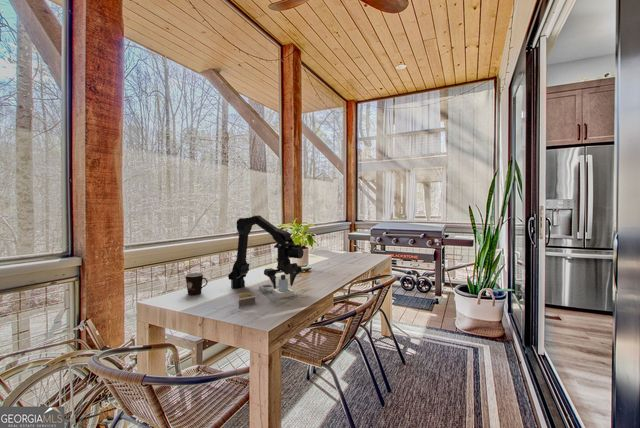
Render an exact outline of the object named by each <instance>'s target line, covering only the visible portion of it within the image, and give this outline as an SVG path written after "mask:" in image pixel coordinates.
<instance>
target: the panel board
mask: <svg viewBox="0 0 640 428" xmlns="http://www.w3.org/2000/svg"><path fill="white" fill-rule="evenodd" d="M278 288H279V285H276V289H278ZM255 291H256V292H257V293H259V294H260V295H262V296H264V297H265V298H266V299H267V300H269V301H270V302H276V301H282V300H288V299H292V298H298V296H299V295H297V294H295V293H294V296H289V297H284V298H278V297H277V296H275V295H274V294H273V292H269V293H262V292H261V291H259V288H258V289H255Z"/></svg>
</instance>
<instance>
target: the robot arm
mask: <svg viewBox="0 0 640 428" xmlns="http://www.w3.org/2000/svg"><path fill="white" fill-rule="evenodd" d="M255 225H257V226H258V227H259V228H261V229H263V231H265V232H267V233H268V234H269V235H270V236H271V237H272V239H273V240H274V241H275V242H276V244H275V245H273V248H274V249H277V258H276V261H277V265H276V269H275V268H272V267H271V268H269V267H268V268H265V269H264V270H263V275H265V276H266V277H268V278H269V280H270V283H271V285H273V287H274V289H276V286H277V284H276V283H277V282H276V281H277V279H276V278H277V276H276V275H277V274H279V273H280V274H282V273H284V275H285V276H286V275H287V276H288V275H289V283H290V287H293V284H294V282H295V279H296V278H297V275H299V274H300V273H302V271H303V268H302V266H300V265H298V263H296V262H293V263H292V262H291V259H290V258H293V259H302V258H303V257H304V248H303V247H302V244H296V243H295V242H294V240H293V238H292V237H291V234H290V232H289V231H288V230H287V231H286V230H284V229H281V228H278V227H277V226H275V225H274V224H272V223H271V222H269V221H268V220H267V219H266V218H264V217H262V215H259V214H258V215H253V216H250V217H241V218H238V219H237V220H236V231H237V232H238V240H237V241H238V242H237V252H236V254H237V255H236V259H235V262H234V263H233V266H232V269H231V272H229V274H228V275H227V277H228V280H230V288H231V289H233V290H238V289H242V288H245V287H246V284H245V283H246V280H245V278H246V276H247V274H248V273H249V271H250V263H248V262H247V255H248V254H247V253H248V243H249V242H248V240H249V234H250V233H251V231H252V230H253V229H252V228H253V226H255Z"/></svg>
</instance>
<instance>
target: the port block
mask: <svg viewBox="0 0 640 428" xmlns="http://www.w3.org/2000/svg"><path fill="white" fill-rule="evenodd" d="M273 294H274V295H275V296H277V297H278V298H284V297H289V296H294V294H295V290H293V289H291V288H290V287H288V291H285V292H280V291H279V288H278V289H273Z"/></svg>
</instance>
